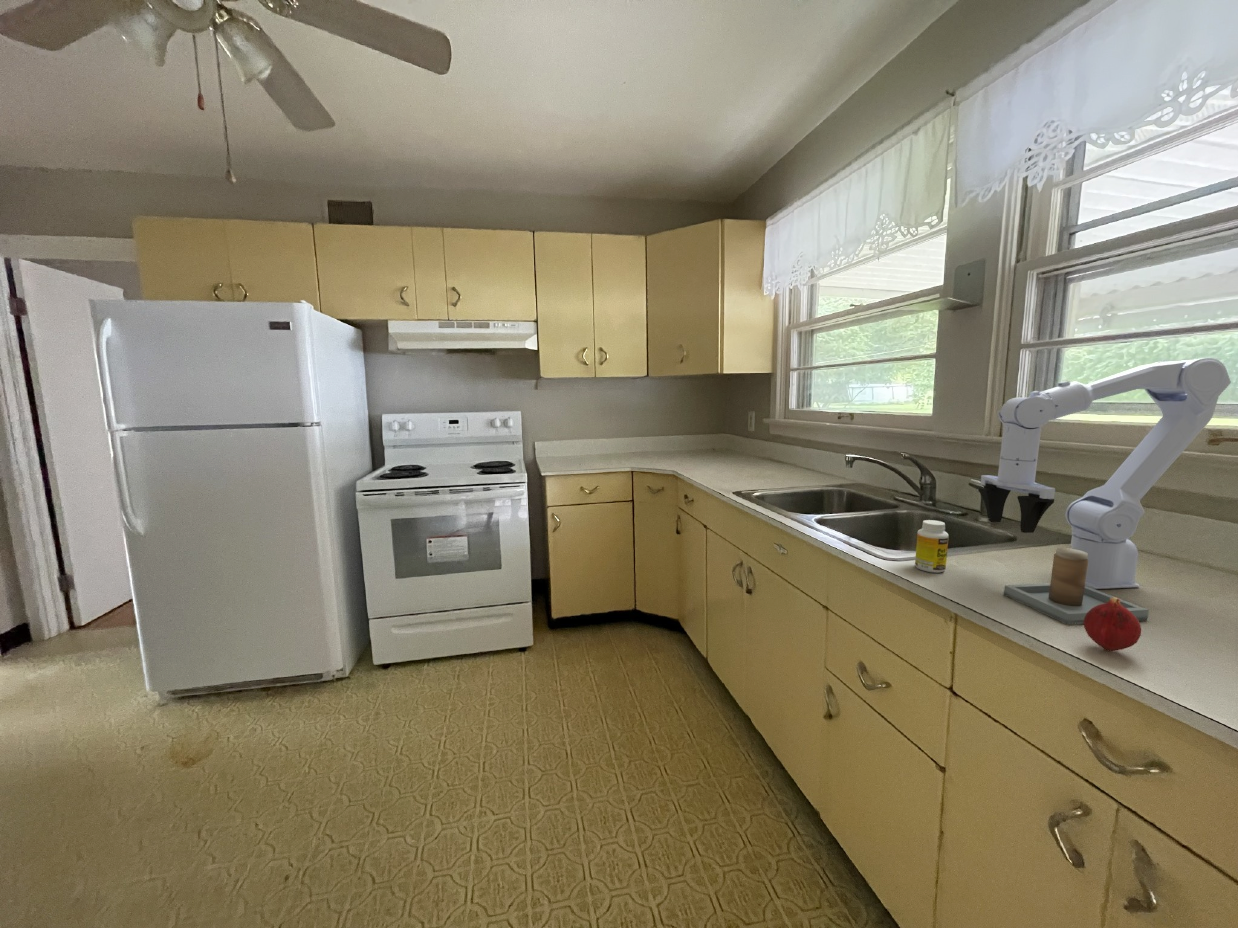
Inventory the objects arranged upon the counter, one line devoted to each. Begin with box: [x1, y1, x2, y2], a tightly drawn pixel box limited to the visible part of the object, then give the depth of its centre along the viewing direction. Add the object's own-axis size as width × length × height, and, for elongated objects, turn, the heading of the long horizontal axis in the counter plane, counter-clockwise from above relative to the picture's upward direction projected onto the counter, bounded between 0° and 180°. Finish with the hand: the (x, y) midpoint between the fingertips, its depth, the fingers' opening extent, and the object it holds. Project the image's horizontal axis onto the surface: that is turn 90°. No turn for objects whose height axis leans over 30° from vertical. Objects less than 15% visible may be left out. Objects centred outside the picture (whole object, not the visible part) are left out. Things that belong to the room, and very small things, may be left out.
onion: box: [1083, 596, 1142, 652], centre depth 70 cm, size 6×6×8 cm
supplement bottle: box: [914, 519, 950, 574], centre depth 104 cm, size 6×6×10 cm
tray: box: [1003, 582, 1150, 625], centre depth 85 cm, size 14×12×2 cm
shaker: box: [1048, 547, 1088, 606], centre depth 86 cm, size 4×4×9 cm
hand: (1010, 526), depth 98 cm, fingers open, 7 cm apart
